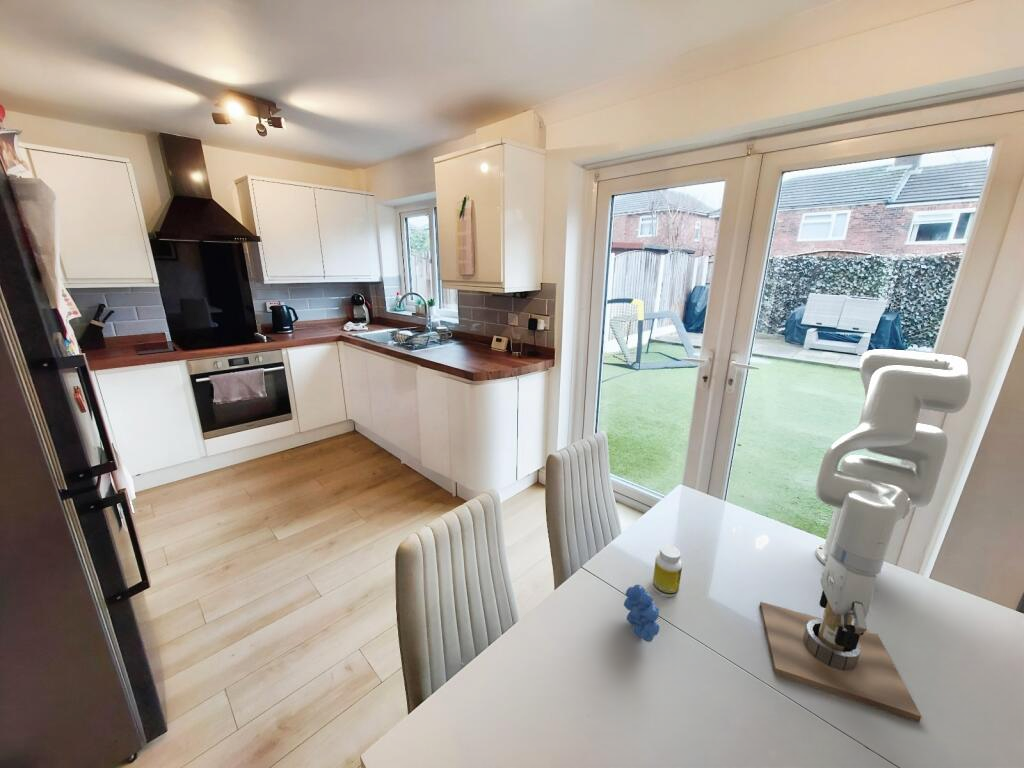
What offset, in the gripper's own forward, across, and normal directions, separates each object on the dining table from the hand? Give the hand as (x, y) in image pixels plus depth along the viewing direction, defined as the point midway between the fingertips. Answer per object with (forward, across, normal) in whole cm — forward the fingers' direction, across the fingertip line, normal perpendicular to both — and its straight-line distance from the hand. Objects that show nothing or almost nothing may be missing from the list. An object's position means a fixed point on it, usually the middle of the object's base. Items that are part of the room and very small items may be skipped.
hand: (836, 626), depth 80 cm
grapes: (+8, +10, -36) cm, 38 cm away
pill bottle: (+8, -6, -32) cm, 34 cm away
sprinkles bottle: (+6, 0, 0) cm, 7 cm away
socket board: (+8, 0, 0) cm, 8 cm away
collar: (+6, 0, 0) cm, 6 cm away
